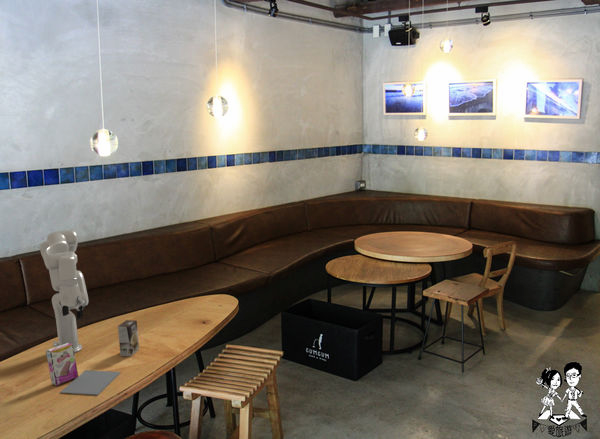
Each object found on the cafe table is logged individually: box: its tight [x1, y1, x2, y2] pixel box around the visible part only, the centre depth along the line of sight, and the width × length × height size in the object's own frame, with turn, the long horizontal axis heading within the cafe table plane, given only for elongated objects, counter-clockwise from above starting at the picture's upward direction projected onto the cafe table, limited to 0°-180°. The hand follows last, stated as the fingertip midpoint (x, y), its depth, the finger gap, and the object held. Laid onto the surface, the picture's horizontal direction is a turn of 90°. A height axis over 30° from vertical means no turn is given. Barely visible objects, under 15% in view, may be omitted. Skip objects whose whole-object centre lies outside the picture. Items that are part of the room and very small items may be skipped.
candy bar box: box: [45, 343, 79, 386], centre depth 274 cm, size 11×5×16 cm, turn 140°
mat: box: [59, 369, 121, 396], centre depth 273 cm, size 18×22×1 cm
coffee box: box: [117, 319, 140, 357], centre depth 304 cm, size 9×6×16 cm
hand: (73, 316), depth 280 cm, fingers open, 9 cm apart
